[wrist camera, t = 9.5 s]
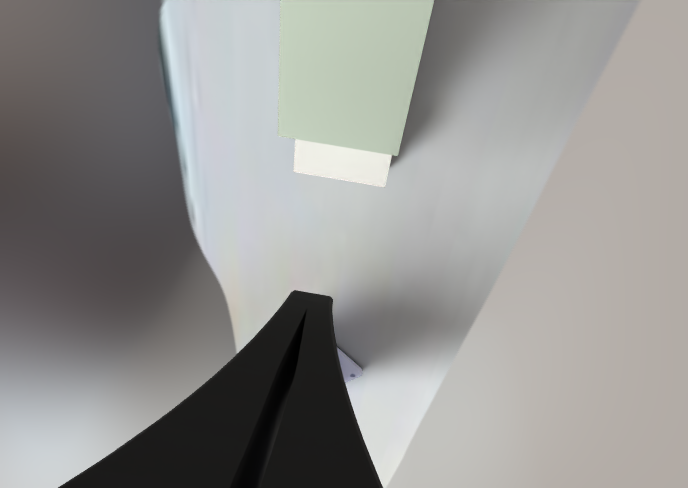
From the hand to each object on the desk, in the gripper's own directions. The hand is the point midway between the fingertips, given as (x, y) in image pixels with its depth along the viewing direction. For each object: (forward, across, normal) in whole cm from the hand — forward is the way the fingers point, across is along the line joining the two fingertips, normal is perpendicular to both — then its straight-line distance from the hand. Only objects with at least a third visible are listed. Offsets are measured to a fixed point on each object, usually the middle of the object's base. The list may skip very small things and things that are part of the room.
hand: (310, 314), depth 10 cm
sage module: (+8, 0, -7) cm, 11 cm away
